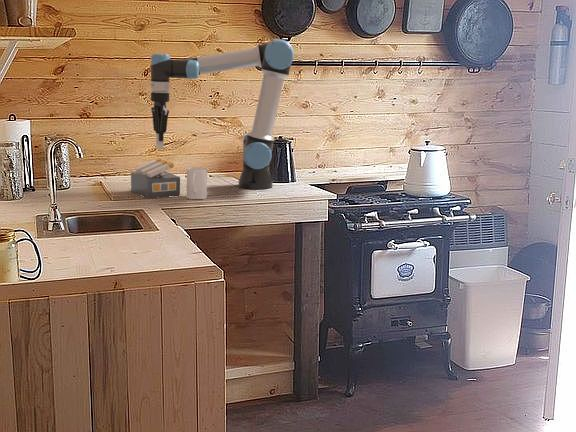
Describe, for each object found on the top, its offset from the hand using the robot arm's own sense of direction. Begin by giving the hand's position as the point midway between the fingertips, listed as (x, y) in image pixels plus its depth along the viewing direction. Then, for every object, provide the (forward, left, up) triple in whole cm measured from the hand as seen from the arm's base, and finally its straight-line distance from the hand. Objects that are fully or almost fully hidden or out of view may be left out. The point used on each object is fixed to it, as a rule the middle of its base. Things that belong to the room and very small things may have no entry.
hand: (159, 148), depth 320 cm
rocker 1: (+5, 0, -8) cm, 9 cm away
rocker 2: (+5, +6, -8) cm, 11 cm away
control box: (+5, +6, -18) cm, 19 cm away
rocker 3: (+5, +12, -8) cm, 15 cm away
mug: (-6, +22, -18) cm, 29 cm away
